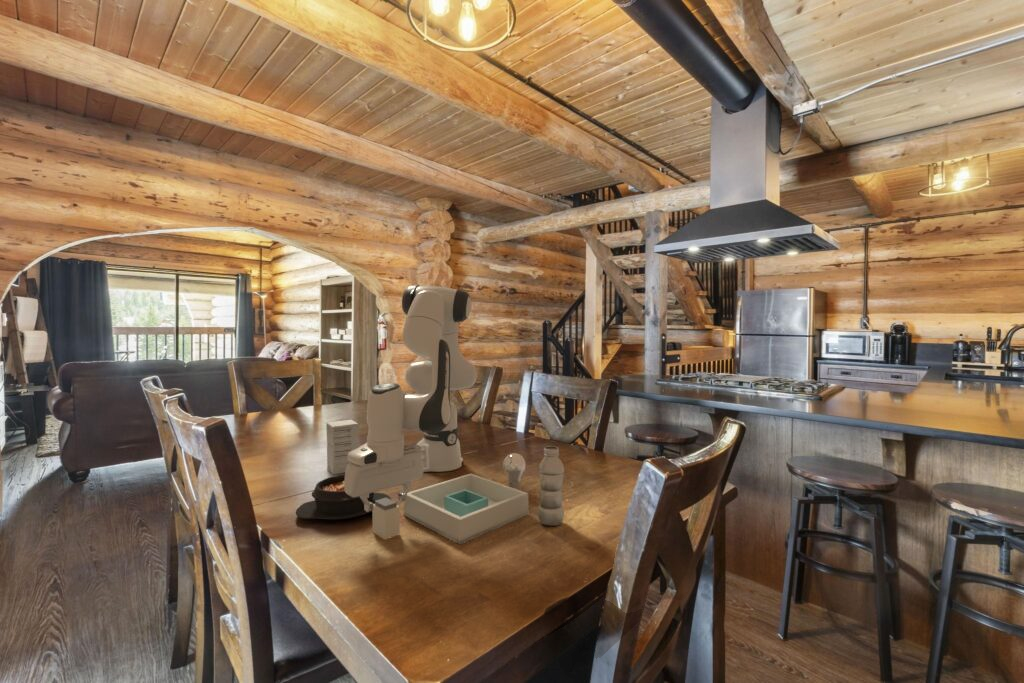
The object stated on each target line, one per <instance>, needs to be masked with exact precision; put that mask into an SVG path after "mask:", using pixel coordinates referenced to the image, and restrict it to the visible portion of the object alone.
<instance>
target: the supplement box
mask: <svg viewBox="0 0 1024 683" xmlns="http://www.w3.org/2000/svg"><path fill="white" fill-rule="evenodd" d="M325 427H326V458H327V460H326V461H327V463H326V468H327V470H328V471H329V472H331V474H332V475H337V474H342V473H343V474H344V473H345V471H346V468H347V466H348V464H349V463H351V462H350V461H348V458H347V455H348V453H349V452H351V451H353V450H355V449H357V448H358V447H360V441H359V440H360V439H359V436H360V434H359V431H360V430H359V423H358V422H356V421H355V420H353V419H347V420H339V421H337V420H336V421H329V422H326V426H325Z"/></svg>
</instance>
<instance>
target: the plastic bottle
mask: <svg viewBox="0 0 1024 683" xmlns="http://www.w3.org/2000/svg"><path fill="white" fill-rule="evenodd" d="M543 456H544V457H543V458H542V460H541V462H540V463H539V466H538V473H539V482H540V496H539V497H540V498H539V505H538V511H537V515H538V517H537V518H538V520H539V522H540V524H542V525H544V526H548V527H551V526H552V527H553V526H554V527H555V526H559V525H560V524H561V523H562V522H563V520H564V515H565V514H564V507H563V498H562V497H563V496H562V488H563V480H564V472H565V467H564V464H563V462H562V461H561V459H560V458H559V457H558V456H560V453H559V447H557V446H554V445H553V446H552V445H548V446H544V448H543Z"/></svg>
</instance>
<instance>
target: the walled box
mask: <svg viewBox="0 0 1024 683" xmlns="http://www.w3.org/2000/svg"><path fill="white" fill-rule="evenodd" d="M403 515H404V517H406V518H408V519H410V520H412V521H414V522H416V523H417V522H418V524H419V523H420V524H419V525H421V524H422V525H421V526H423V525H424V526H423V527H425V526H426V527H425V528H427V527H428V528H427V529H429V528H430V529H429V530H431V529H432V530H431V531H433V530H434V531H433V532H435V531H436V532H437V534H438V533H439V534H438V535H440V534H441V535H440V536H442V535H443V536H442V537H444V536H445V537H444V538H446V537H447V538H446V539H448V538H449V539H448V540H450V541H452V540H453V541H452V542H454V543H456V544H457V543H458V545H459V544H461V545H463V544H465V543H467V542H469V540H470V541H473V540H474V539H476V537H477V538H479V537H481V536H483V535H485V533H486V534H488V533H490V532H492V530H493V531H494V529H495V530H497V529H499V528H502V527H504V526H507V525H508V524H511V523H513V522H515V521H518V520H520V519H521V518H525V517H526V515H527V516H529V493H528V492H526V491H523V490H520V489H515V488H512V487H509V485H506V484H503V483H500V482H496V481H494V480H491V479H489V478H486V477H483V476H479V475H476V474H474V473H467V474H465V475H460V476H459V477H455V478H451V479H449V480H445V481H442V482H439V483H435V484H432V485H429V486H426V487H421V488H419V489H414V490H411V491H408V493H407V500H404V501H403ZM524 516H525V517H524ZM517 519H518V520H517ZM436 532H435V533H436ZM466 541H467V542H466ZM464 542H465V543H464ZM462 543H463V544H462Z"/></svg>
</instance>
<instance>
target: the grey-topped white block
mask: <svg viewBox="0 0 1024 683" xmlns="http://www.w3.org/2000/svg"><path fill="white" fill-rule="evenodd" d="M371 513H372V515H371V516H372V518H371V519H372V533H373V532H374V533H373V534H375V533H376V534H375V535H376V536H378V535H379V536H378V537H380V538H381V537H382V539H383V538H384V539H383V540H385V539H386V540H388V539H387V538H389V537H391V538H393V537H392V536H394V537H396V536H395V535H397V536H399V535H398V534H400V533H401V532H400V506H399V505H398V504H397V501H394V500H392V499H391V500H390V499H388V498H382V499H379V500H376V501H375V504H373V510H372V512H371ZM389 539H390V538H389Z"/></svg>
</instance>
